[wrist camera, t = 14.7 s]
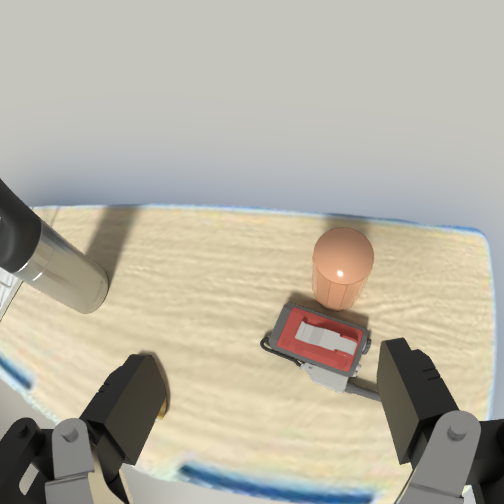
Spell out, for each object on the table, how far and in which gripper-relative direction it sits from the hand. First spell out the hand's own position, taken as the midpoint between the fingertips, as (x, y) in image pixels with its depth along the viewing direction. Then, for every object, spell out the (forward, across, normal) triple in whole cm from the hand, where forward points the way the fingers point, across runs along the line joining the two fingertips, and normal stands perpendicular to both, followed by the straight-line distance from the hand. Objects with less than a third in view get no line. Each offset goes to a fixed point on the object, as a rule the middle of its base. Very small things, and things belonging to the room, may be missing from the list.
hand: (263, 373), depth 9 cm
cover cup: (+29, -7, +11) cm, 32 cm away
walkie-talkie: (+22, -6, +18) cm, 29 cm away
